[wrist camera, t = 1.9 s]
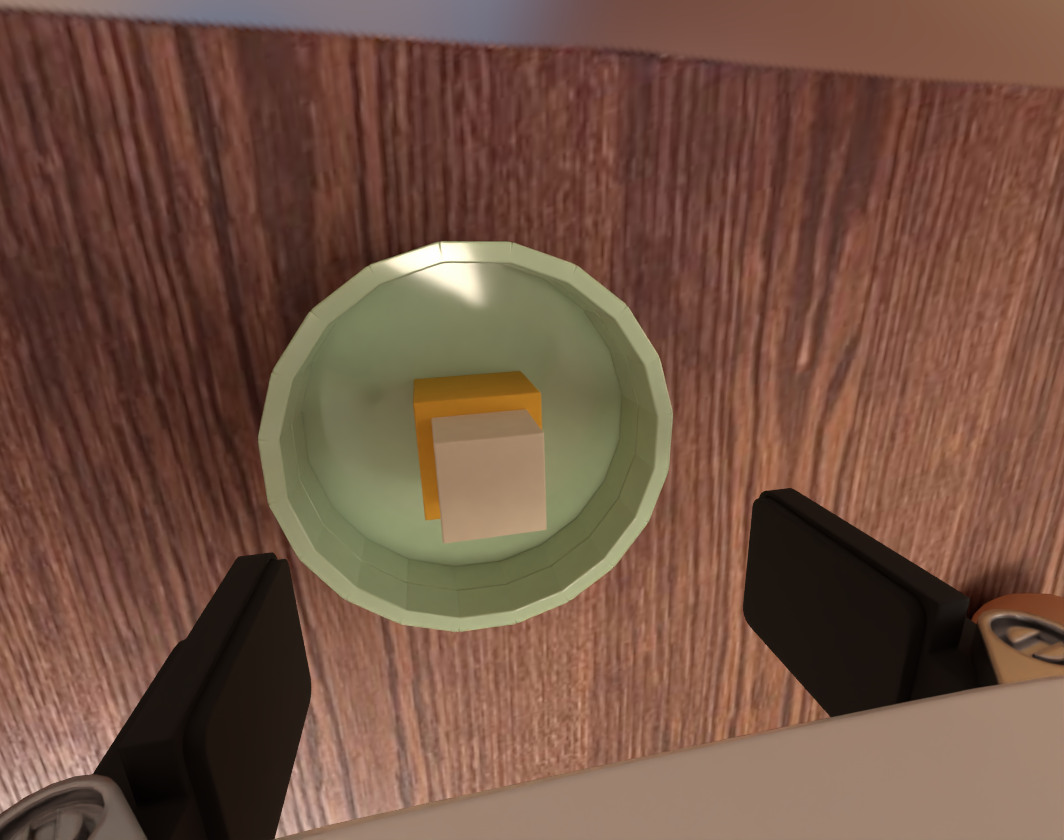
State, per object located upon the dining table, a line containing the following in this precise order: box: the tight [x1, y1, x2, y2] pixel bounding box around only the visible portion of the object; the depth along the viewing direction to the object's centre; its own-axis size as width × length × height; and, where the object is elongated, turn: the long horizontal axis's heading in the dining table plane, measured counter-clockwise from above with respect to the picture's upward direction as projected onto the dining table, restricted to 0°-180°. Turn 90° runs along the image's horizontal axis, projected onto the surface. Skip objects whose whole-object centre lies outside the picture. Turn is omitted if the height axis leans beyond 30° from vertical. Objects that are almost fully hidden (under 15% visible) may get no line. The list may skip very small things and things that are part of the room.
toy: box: [413, 371, 547, 543], centre depth 18 cm, size 4×4×6 cm
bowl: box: [258, 241, 673, 632], centre depth 19 cm, size 13×13×4 cm
